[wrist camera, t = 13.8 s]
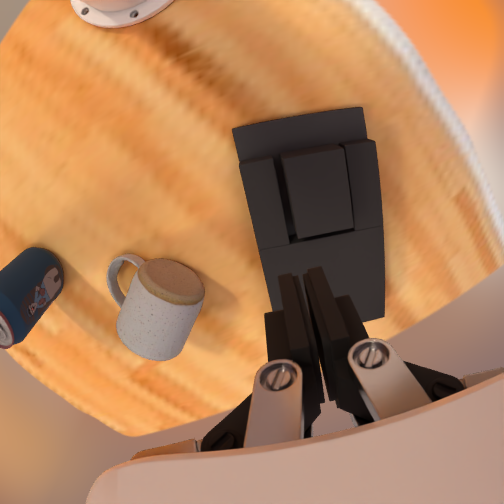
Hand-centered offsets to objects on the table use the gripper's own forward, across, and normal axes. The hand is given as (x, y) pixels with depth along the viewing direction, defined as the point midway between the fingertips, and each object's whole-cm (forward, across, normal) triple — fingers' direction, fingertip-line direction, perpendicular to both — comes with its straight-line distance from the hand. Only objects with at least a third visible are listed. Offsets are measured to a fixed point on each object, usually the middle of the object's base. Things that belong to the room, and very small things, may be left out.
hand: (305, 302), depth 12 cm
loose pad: (+19, -4, +1) cm, 19 cm away
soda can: (+20, +28, +3) cm, 35 cm away
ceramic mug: (+20, +14, +8) cm, 26 cm away
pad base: (+19, -4, +6) cm, 20 cm away
